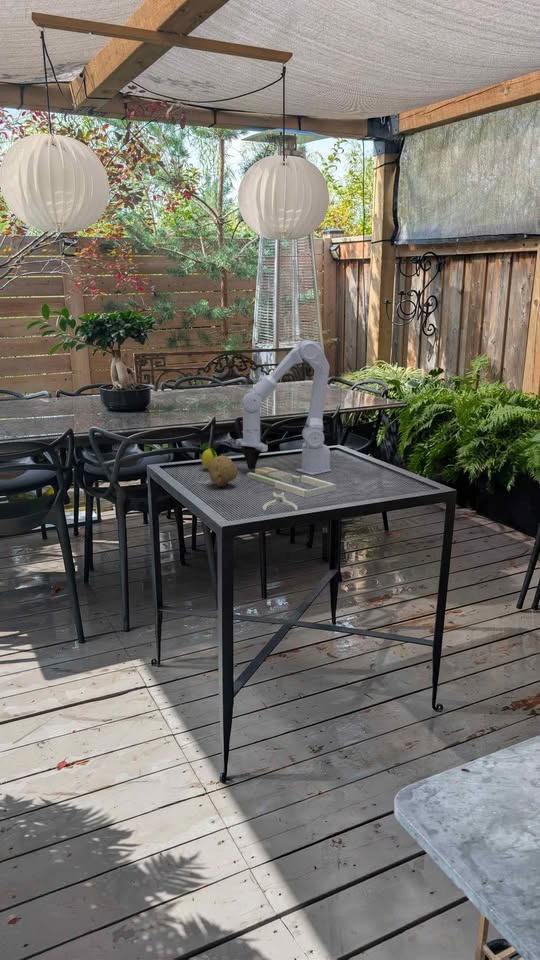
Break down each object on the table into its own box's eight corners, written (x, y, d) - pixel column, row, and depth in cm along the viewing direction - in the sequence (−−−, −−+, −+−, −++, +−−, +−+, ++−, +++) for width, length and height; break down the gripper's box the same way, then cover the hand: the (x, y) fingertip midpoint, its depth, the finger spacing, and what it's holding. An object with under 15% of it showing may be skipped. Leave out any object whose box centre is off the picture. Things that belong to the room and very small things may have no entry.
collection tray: (304, 481, 227) (304, 475, 227) (335, 490, 216) (336, 484, 216) (274, 487, 219) (274, 481, 219) (306, 497, 209) (306, 491, 208)
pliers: (262, 506, 196) (261, 492, 210) (262, 512, 196) (261, 497, 211) (298, 506, 196) (294, 491, 211) (298, 512, 196) (294, 496, 211)
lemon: (200, 468, 244) (200, 439, 241) (217, 467, 244) (217, 439, 242) (200, 472, 237) (200, 443, 235) (218, 472, 238) (217, 443, 235)
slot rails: (270, 472, 238) (270, 468, 237) (300, 481, 227) (300, 477, 226) (247, 477, 232) (247, 473, 231) (276, 486, 221) (276, 482, 220)
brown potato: (237, 482, 225) (237, 452, 222) (236, 490, 216) (236, 459, 214) (209, 483, 225) (208, 452, 222) (207, 490, 216) (206, 459, 214)
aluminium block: (280, 479, 230) (280, 470, 230) (292, 483, 226) (292, 474, 225) (268, 482, 227) (268, 473, 227) (280, 485, 223) (280, 476, 222)
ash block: (265, 475, 236) (265, 466, 235) (278, 478, 231) (278, 469, 231) (254, 477, 232) (254, 469, 232) (267, 481, 228) (267, 472, 227)
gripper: (228, 427, 237) (229, 466, 240) (255, 434, 226) (256, 474, 229) (245, 425, 241) (245, 463, 245) (272, 431, 230) (272, 471, 234)
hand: (251, 468), depth 237 cm, fingers closed
